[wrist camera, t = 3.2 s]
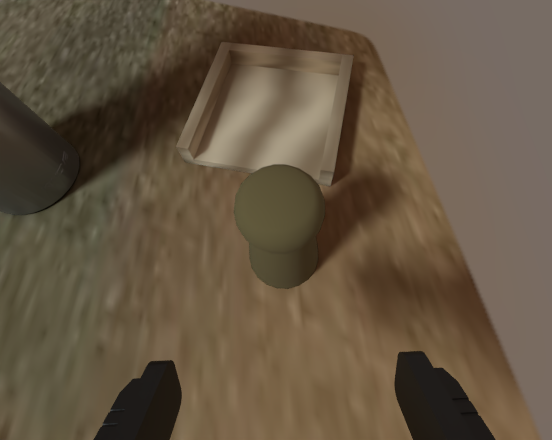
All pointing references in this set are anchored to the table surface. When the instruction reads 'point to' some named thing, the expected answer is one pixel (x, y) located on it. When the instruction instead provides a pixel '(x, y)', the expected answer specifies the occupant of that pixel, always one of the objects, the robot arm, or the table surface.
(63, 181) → the robot arm
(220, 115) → the beige square tray
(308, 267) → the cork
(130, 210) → the table surface
